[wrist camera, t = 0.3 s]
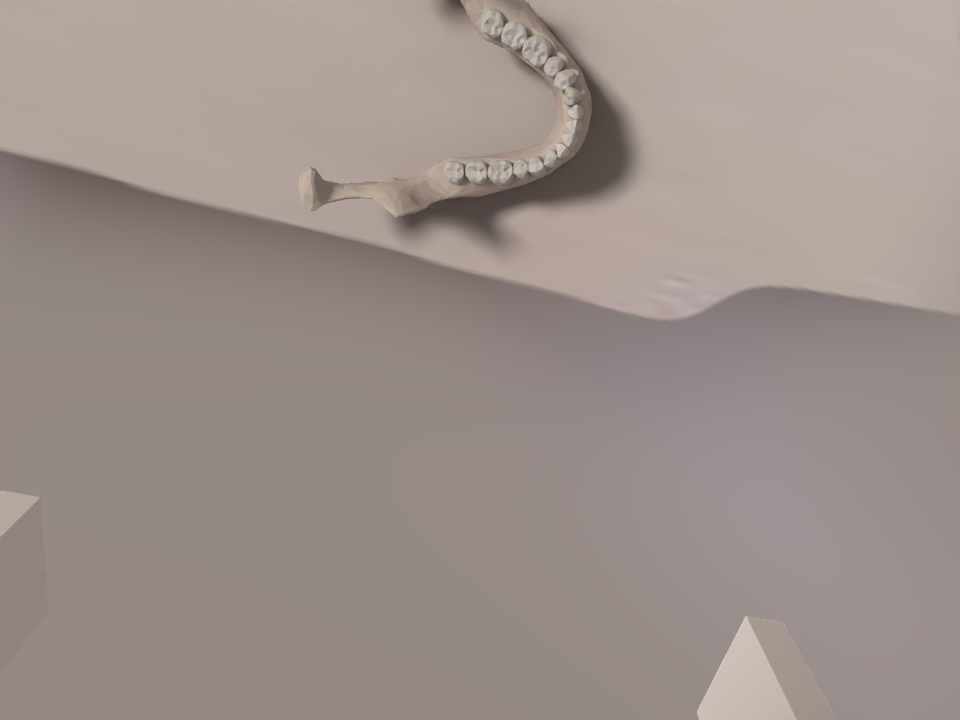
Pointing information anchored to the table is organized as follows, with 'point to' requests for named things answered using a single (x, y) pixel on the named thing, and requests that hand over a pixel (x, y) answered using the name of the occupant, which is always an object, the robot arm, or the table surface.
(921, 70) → the table surface
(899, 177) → the table surface
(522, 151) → the anatomical model
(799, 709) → the robot arm
